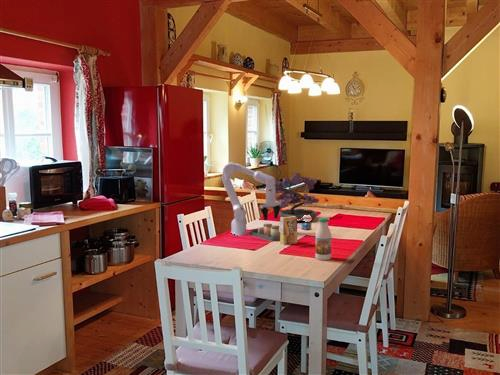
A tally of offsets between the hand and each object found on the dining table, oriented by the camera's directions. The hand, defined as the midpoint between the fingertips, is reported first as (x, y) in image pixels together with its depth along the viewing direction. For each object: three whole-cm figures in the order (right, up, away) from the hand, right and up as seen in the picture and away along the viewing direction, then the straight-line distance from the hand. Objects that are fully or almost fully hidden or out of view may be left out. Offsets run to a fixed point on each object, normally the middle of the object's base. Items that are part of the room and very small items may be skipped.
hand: (270, 219), depth 290 cm
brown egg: (+2, -10, -13) cm, 17 cm away
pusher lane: (-2, -11, -8) cm, 13 cm away
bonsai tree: (+18, -4, +47) cm, 50 cm away
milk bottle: (+23, -16, -53) cm, 60 cm away
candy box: (+9, -13, -24) cm, 29 cm away
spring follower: (-6, -9, -3) cm, 11 cm away
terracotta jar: (-2, -10, -8) cm, 13 cm away
